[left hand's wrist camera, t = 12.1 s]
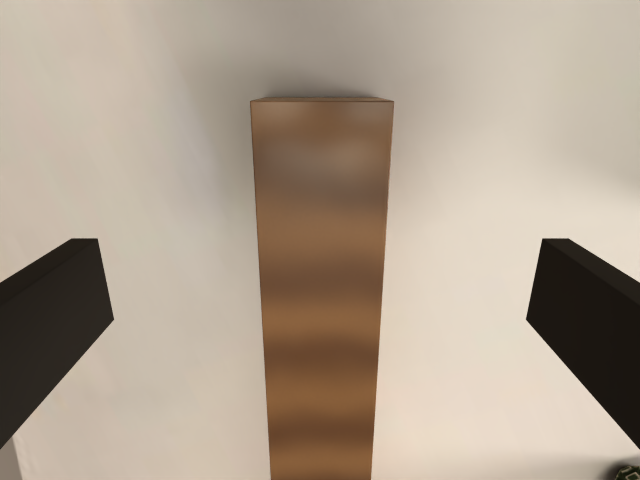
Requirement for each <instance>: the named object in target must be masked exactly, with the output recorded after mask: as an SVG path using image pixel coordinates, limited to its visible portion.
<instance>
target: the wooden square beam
mask: <svg viewBox="0 0 640 480" xmlns="http://www.w3.org/2000/svg"><path fill="white" fill-rule="evenodd" d="M250 108H251V127H252V145H253V163H254V181H255V199H256V217H257V235H258V253H259V271H260V289H261V307H262V325H263V343H264V361H265V380H266V398H267V416H268V434H269V452H270V470H271V480H371V469H372V453H373V436H374V420H375V404H376V388H377V371H378V355H379V339H380V322H381V306H382V290H383V273H384V257H385V241H386V225H387V208H388V192H389V176H390V159H391V143H392V127H393V110H394V101H391V100H386V99H382V98H327V97H265V98H261V99H257V100H252V101H250Z"/></svg>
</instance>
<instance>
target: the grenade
mask: <svg viewBox="0 0 640 480" xmlns="http://www.w3.org/2000/svg"><path fill="white" fill-rule="evenodd" d="M615 480H640V466H627V467H625V468H623V469H621V470H619V472H618V474H617V476H616V478H615Z"/></svg>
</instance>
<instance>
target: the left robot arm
mask: <svg viewBox="0 0 640 480" xmlns="http://www.w3.org/2000/svg"><path fill="white" fill-rule="evenodd" d="M113 320H114V317H113V312H112V307H111V302H110V297H109V292H108V287H107V282H106V278H105V273H104V268H103V263H102V258H101V253H100V248H99V243H98V239H70V240H68V241H67V242H65V243H64V244H62V245H60V246H59V247H57V248H56V249H54V250H52V251H51V252H49V253H47V254H46V255H44V256H43V257H41V258H39V259H38V260H36V261H35V262H33V263H31V264H30V265H28V266H26V267H25V268H23V269H22V270H20V271H18V272H17V273H15V274H14V275H12V276H10V277H9V278H7V279H5V280H4V281H2V282H1V283H0V449H1V448H2V447H3V446H4V445H5V443H6V442H7V441H8V440H9V439H10V438H11V437H12V435H13V434H14V433H15V432H16V431H17V430H18V429H19V427H20V426H21V425H22V424H23V423H24V422H25V421H26V419H27V418H28V417H29V416H30V415H31V414H32V413H33V411H34V410H35V409H36V408H37V407H38V406H39V405H40V403H41V402H42V401H43V400H44V399H45V398H46V397H47V395H48V394H49V393H50V392H51V391H52V390H53V389H54V388H55V386H56V385H57V384H58V383H59V382H60V381H61V380H62V378H63V377H64V376H65V375H66V374H67V373H68V372H69V370H70V369H71V368H72V367H73V366H74V365H75V364H76V362H77V361H78V360H79V359H80V358H81V357H82V356H83V354H84V353H85V352H86V351H87V350H88V349H89V348H90V346H91V345H92V344H93V343H94V342H95V341H96V340H97V338H98V337H99V336H100V335H101V334H102V333H103V332H104V330H105V329H106V328H107V327H108V326H109V325H110V324H111V323H112V321H113ZM526 320H527V321H528V323H529V324H530V325H531V326H532V327H533V328H534V329H535V330H536V332H537V333H538V334H539V335H540V336H541V337H542V338H543V340H544V341H545V342H546V343H547V344H548V345H549V346H550V348H551V349H552V350H553V351H554V352H555V353H556V354H557V356H558V357H559V358H560V359H561V360H562V361H563V362H564V364H565V365H566V366H567V367H568V368H569V369H570V370H571V372H572V373H573V374H574V375H575V376H576V377H577V378H578V380H579V381H580V382H581V383H582V384H583V385H584V386H585V388H586V389H587V390H588V391H589V392H590V393H591V394H592V396H593V397H594V398H595V399H596V400H597V401H598V402H599V403H600V405H601V406H602V407H603V408H604V409H605V410H606V411H607V413H608V414H609V415H610V416H611V417H612V418H613V419H614V421H615V422H616V423H617V424H618V425H619V426H620V427H621V429H622V430H623V431H624V432H625V433H626V434H627V435H628V437H629V438H630V439H631V440H632V441H633V442H634V443H635V445H636V446H637V447H638V448H639V449H640V283H639V282H638V281H636V280H635V279H633V278H631V277H630V276H628V275H626V274H625V273H623V272H622V271H620V270H618V269H617V268H615V267H614V266H612V265H610V264H609V263H607V262H605V261H604V260H602V259H601V258H599V257H597V256H596V255H594V254H593V253H591V252H589V251H588V250H586V249H584V248H583V247H581V246H580V245H578V244H576V243H575V242H573V241H572V240H570V239H542V243H541V248H540V253H539V258H538V263H537V268H536V273H535V278H534V282H533V287H532V292H531V297H530V302H529V307H528V312H527V317H526Z"/></svg>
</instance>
